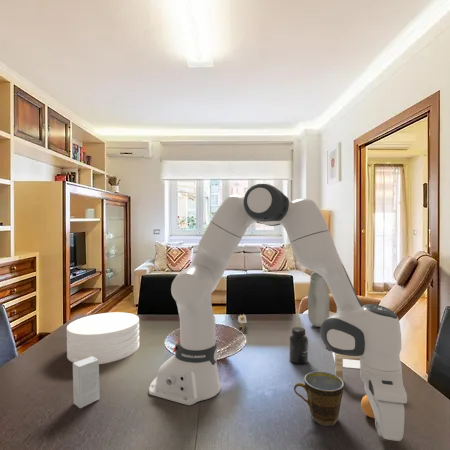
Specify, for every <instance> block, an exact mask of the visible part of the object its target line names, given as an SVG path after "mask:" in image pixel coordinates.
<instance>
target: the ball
mask: <svg viewBox="0 0 450 450" xmlns="http://www.w3.org/2000/svg"><path fill="white" fill-rule="evenodd" d="M360 406H361V409H362V411H363V413H364V414H365V415H366V416H367V417H369V418H371V419H375V417H374V412H373V410H372V407H371V405H370V402H369V400H368V397H367V395H366V394H365V395H364V396H363V397H362V399H361V401H360Z"/></svg>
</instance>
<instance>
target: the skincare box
mask: <svg viewBox="0 0 450 450" xmlns="http://www.w3.org/2000/svg"><path fill="white" fill-rule="evenodd" d="M72 386H73V391H72V392H73V405H75V406H76V407H77V408H78V409H83V408H84V407H86V406H89V405H90V404H93V403H94V402H96V401H99V400H100V399H101V398H100V397H101V395H100V394H101V393H100V364H99V360H98V359H96V358H95V357H93V356H91V357H88V358H86V359H83V360H80V361H77V362H75V363H73V362H72Z"/></svg>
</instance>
